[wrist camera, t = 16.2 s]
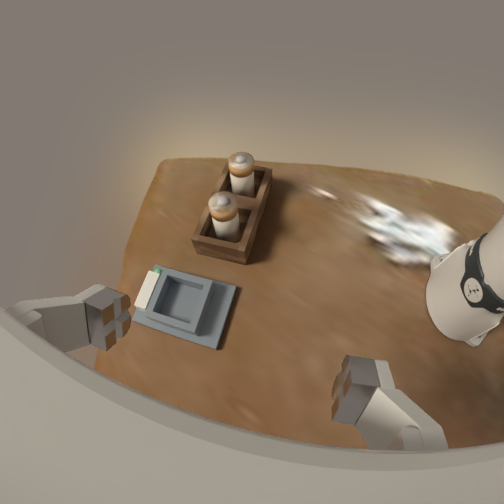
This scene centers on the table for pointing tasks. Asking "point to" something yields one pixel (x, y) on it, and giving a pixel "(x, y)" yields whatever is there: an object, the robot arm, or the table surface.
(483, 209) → the table surface
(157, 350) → the table surface
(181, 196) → the table surface
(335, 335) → the table surface
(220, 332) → the checker
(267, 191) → the rack
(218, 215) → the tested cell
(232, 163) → the cell
